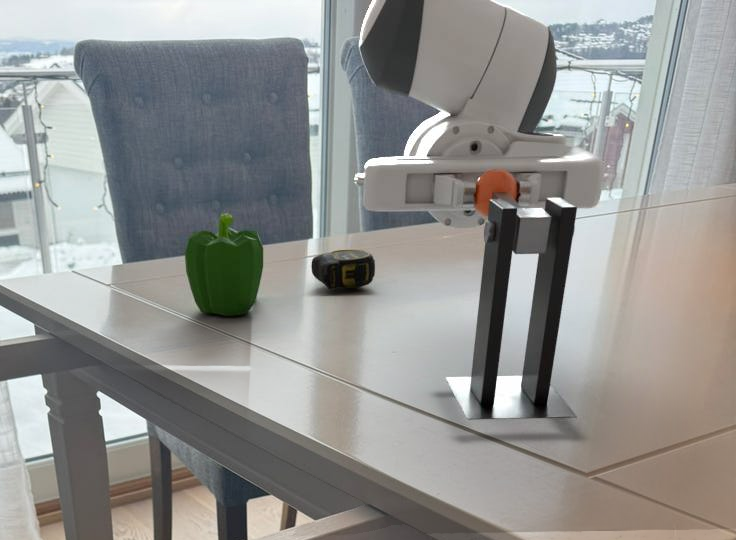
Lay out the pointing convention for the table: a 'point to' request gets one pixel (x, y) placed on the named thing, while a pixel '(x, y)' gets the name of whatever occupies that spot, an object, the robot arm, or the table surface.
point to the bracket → (532, 389)
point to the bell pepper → (224, 269)
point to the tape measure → (344, 268)
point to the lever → (529, 221)
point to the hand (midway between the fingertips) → (497, 195)
